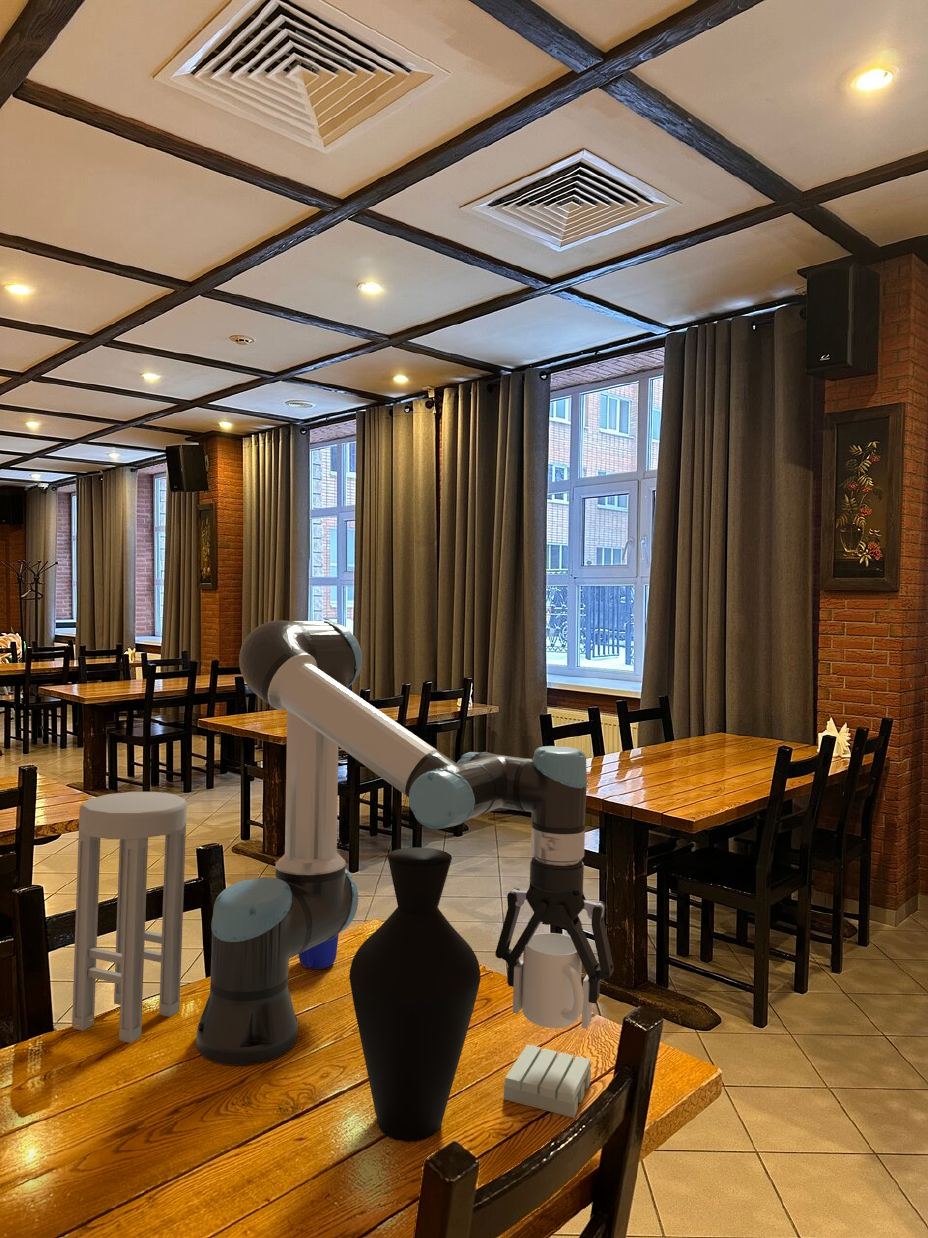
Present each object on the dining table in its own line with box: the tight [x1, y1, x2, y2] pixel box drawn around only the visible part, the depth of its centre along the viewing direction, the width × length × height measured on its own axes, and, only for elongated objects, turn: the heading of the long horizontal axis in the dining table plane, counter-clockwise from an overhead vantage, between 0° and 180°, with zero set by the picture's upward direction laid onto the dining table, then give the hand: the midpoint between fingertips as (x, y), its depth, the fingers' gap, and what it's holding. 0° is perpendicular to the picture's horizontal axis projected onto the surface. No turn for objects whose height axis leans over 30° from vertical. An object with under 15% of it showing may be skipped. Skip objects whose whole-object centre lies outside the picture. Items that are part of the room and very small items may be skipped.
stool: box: [71, 791, 188, 1044], centre depth 135 cm, size 16×16×35 cm
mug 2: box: [521, 932, 584, 1029], centre depth 119 cm, size 12×8×10 cm
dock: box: [503, 1044, 592, 1119], centre depth 120 cm, size 10×10×3 cm
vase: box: [348, 847, 482, 1143], centre depth 111 cm, size 17×17×35 cm
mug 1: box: [298, 933, 340, 970], centre depth 157 cm, size 8×12×10 cm
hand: (551, 1016), depth 119 cm, fingers closed on mug 2, 9 cm apart
